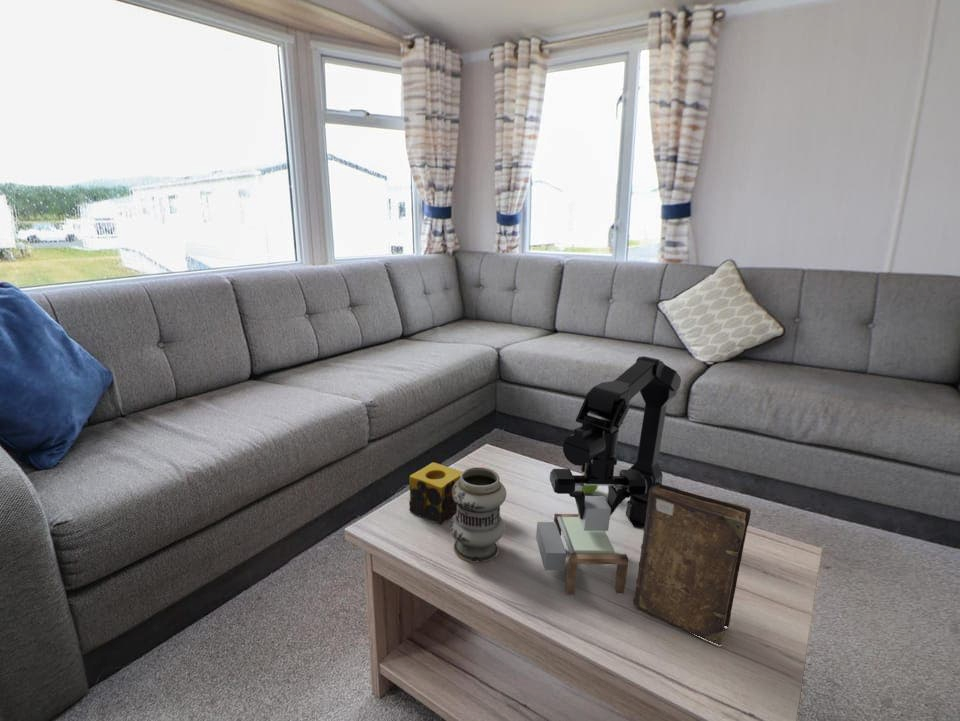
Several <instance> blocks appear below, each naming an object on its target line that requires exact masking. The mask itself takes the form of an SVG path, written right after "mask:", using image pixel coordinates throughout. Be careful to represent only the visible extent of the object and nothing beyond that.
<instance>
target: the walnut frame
mask: <svg viewBox="0 0 960 721" xmlns="http://www.w3.org/2000/svg"><path fill="white" fill-rule="evenodd" d="M578 515H579V513H554V517H553V522H556V525H557V528H558V531H559V534H560V536H561V537H562V531H561V528H560V525H559V522H558V519H557V518H558V517H559V516H561V517H578ZM629 561H630V558H629V557H628V555H627V554H626V553H624V554H621V553H620V554H615V553H614V554H570V553H569V554H568V562H567V568H566V569H567V570H566V571H567V572H566V579H565V588H564V589H565V592H566V594H567V595H575V592H576V591H575V590H576V584H577V583H576V582H577V574H578V566H579V565H617V566H616V571H615V572H616V574H615V581H614V592H615V594H616V595H624V594H625V591H626V590H625V588H626V587H625V586H626V580H627V574H628V568H629Z"/></svg>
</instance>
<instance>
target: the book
mask: <svg viewBox="0 0 960 721" xmlns="http://www.w3.org/2000/svg"><path fill="white" fill-rule="evenodd" d="M751 510H752V509H751V508H750V507H747V506H744V505H741V504H738V503H732V502H728V501H724V500H720V499H716V498H712V497H707V496H704V495H700V494H696V493H692V492H688V491H685V490H681V489H680V488H677V487H673V486H670V485H665V484H663V485H656V486H653V487H651V488H650V490H649V497H648V506H647V510H646V521H645V527H643V536H642V543H641V546H640V556H639V557H640V558H639V562H638V571H637V576H636V579H635V591H634V595H633V596H634V597H633V600H632V602H633V603H632V604H633V605H634V606H635V607H636V608H637V609H638V610H639V611H641V612H643V613H645V614H647V615H649V616H651V617H654V616H655V617H654V618H658V619H659V620H661V619H662V620H661V621H664V622H666V621H667V622H666V623H668V622H669V623H668V624H670V623H671V625H672V624H673V626H674V627H677V628H679V629H681V628H682V629H681V630H683V629H684V630H683V631H685V630H686V632H687V631H689V632H691V633H693V634H695V635H697V636H700V637H702V638H704V639H706V640H708V641H711V642H713V643H716V644H718V645H722V646H723V643H724V635H725V633H724V630H725V629H724V626H727V627H728V628H729V627H730V622H731V616H732V609H733V604H734V598H735V594H736V589H737V588H736V587H737V583H738V578H739V572H740V567H741V566H740V565H741V561H742V559H743V557H742V556H743V553H744V552H743V551H744V545H745V540H746V537H747V536H746V535H747V530H748V527H749V524H750V519H751V515H752V514H751V513H752V511H751ZM689 632H688V633H689ZM691 633H690V634H691ZM693 634H692V635H693Z"/></svg>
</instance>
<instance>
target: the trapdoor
mask: <svg viewBox="0 0 960 721" xmlns="http://www.w3.org/2000/svg"><path fill="white" fill-rule="evenodd" d="M557 519H558V522H559V525H560V528H561V534H562V535H563V536H562V535H561V536H560V534H559V531H558V528H557V525H556V522H554V521H536V534H535V539H536V543H537V546H538V550H539V554H540V557H541V562H542V565H543V568H544V571H566V570H565V569H566V560H567V551H566V549H565V545H564V542H563V540H562V537H563V538H564V541H565V543H566V547H567V549H568V552H569V554H615V552H616V551H615V548H614V547H613V544H612V543H611V540H610V539H609V537H608V535H607V531H584V529H583V527H582V525H581V522H580V520H579V518H578V517H561V516H559V517H558V518H557Z"/></svg>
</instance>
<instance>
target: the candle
mask: <svg viewBox="0 0 960 721" xmlns="http://www.w3.org/2000/svg"><path fill="white" fill-rule="evenodd" d="M462 472H463V471H461V470H460V469H455V468H452V467H450V466H449V467H448V466H446V465H443V464H440V463H437V462H431V463H429V464H428V465H426V466H425V467H423V468H421V469H419V470H418V471H415V472H414V473H411V474H410V475H409V479H408V480H409V481H408V483H409V484H408V485H409V486H408V487H409V501H408V502H409V504H408V505H409V509H408V510H409V512H410V513H412V514H415V515H417V516H419V517H422V518H424V519H426V520H429V521H432V522H433V523H436V524H439V525H443V524H444V523H445V522H446V521H448V520H449V519H452V517H453V516H454V515H455V514H456V509H457V503H456V502H455V501H454V499H453V497H452V488H453V486H454V484H455V483H456V482H457V481H458V480H459V479H460V475H461V473H462Z"/></svg>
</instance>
